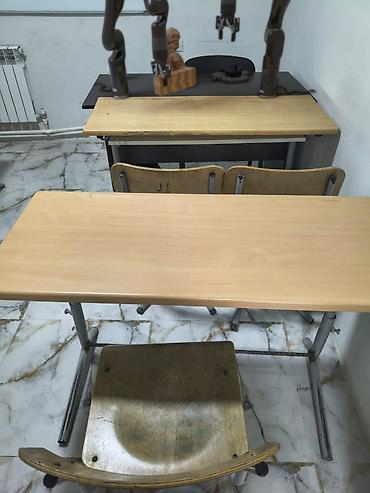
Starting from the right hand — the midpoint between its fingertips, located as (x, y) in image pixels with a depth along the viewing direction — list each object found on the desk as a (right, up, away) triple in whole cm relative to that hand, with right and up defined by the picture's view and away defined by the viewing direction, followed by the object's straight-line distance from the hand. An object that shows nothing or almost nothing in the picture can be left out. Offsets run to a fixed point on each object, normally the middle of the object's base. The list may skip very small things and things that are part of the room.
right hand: (226, 40), depth 180 cm
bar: (-26, -21, +7) cm, 34 cm away
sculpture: (-26, -1, +44) cm, 51 cm away
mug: (-65, +6, +54) cm, 85 cm away
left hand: (-33, -22, 0) cm, 39 cm away
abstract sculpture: (+9, +3, +47) cm, 48 cm away
